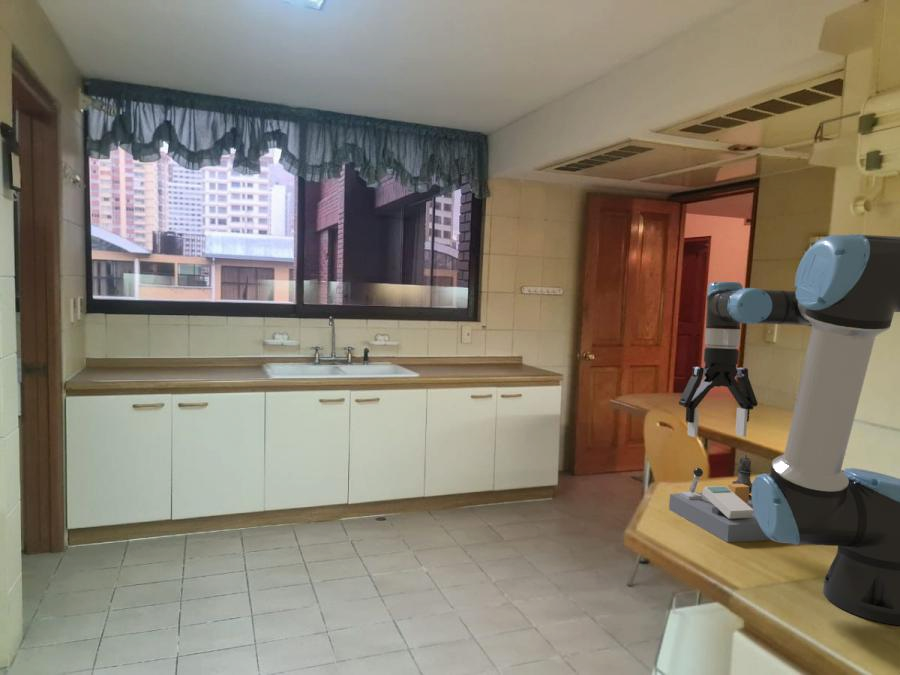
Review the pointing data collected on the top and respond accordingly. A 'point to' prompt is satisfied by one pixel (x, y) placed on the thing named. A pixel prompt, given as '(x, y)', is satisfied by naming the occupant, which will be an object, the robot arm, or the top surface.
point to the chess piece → (744, 474)
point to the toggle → (695, 479)
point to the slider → (740, 491)
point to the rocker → (727, 502)
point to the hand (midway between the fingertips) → (716, 435)
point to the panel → (716, 518)
